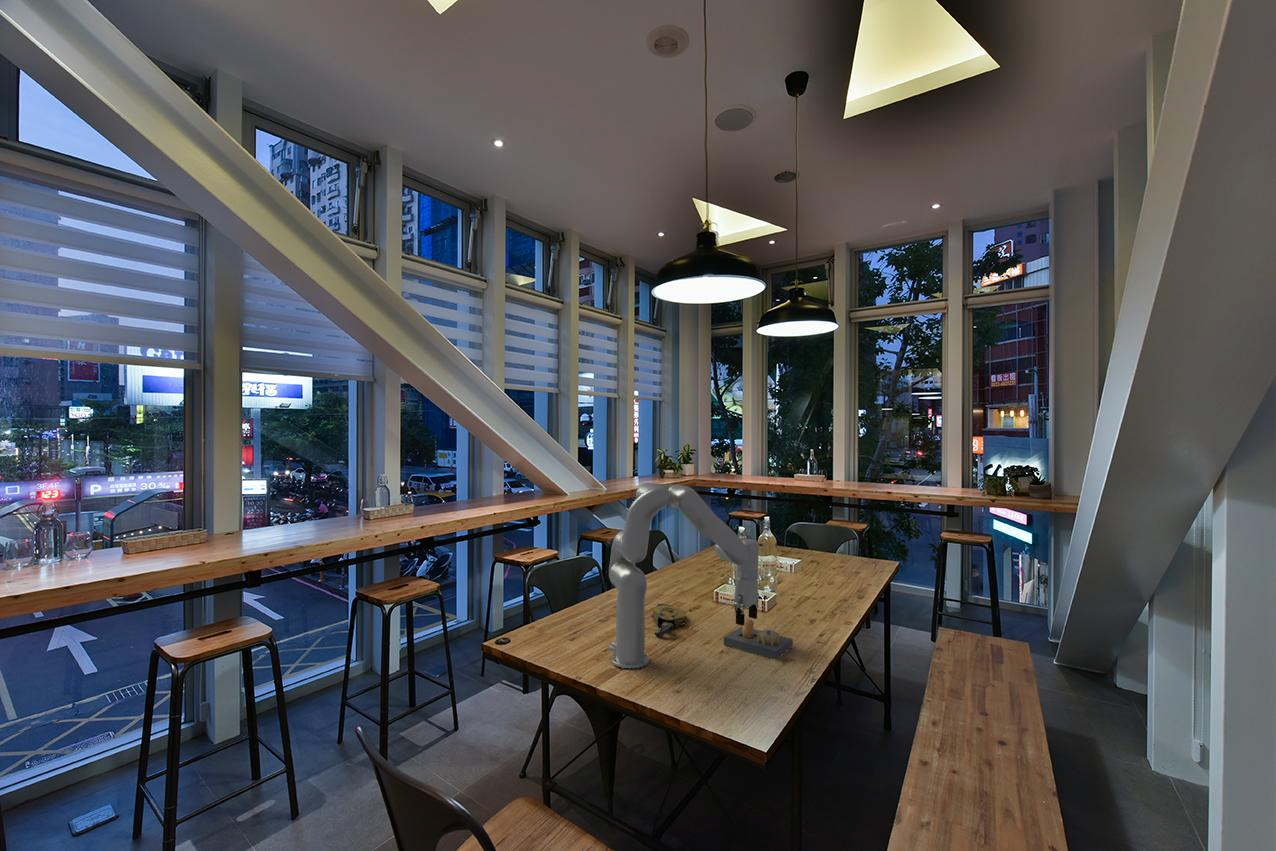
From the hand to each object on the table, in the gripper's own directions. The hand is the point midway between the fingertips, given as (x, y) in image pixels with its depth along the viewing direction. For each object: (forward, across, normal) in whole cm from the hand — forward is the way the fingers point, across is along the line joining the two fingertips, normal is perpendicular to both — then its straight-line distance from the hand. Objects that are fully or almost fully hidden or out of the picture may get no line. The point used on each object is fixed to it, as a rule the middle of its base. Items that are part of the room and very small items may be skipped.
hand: (746, 621), depth 194 cm
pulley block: (+9, +3, -33) cm, 35 cm away
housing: (+8, -1, +4) cm, 9 cm away
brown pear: (+8, -1, 0) cm, 8 cm away
